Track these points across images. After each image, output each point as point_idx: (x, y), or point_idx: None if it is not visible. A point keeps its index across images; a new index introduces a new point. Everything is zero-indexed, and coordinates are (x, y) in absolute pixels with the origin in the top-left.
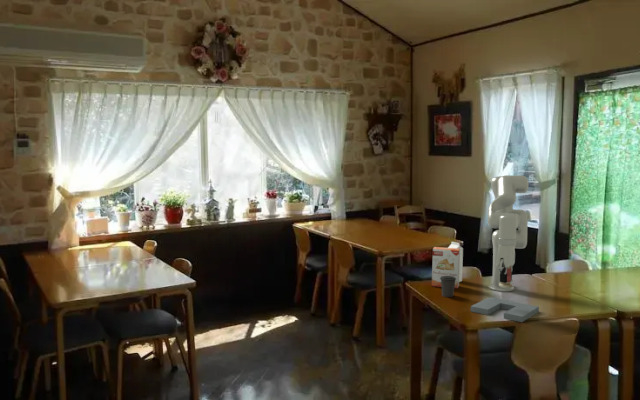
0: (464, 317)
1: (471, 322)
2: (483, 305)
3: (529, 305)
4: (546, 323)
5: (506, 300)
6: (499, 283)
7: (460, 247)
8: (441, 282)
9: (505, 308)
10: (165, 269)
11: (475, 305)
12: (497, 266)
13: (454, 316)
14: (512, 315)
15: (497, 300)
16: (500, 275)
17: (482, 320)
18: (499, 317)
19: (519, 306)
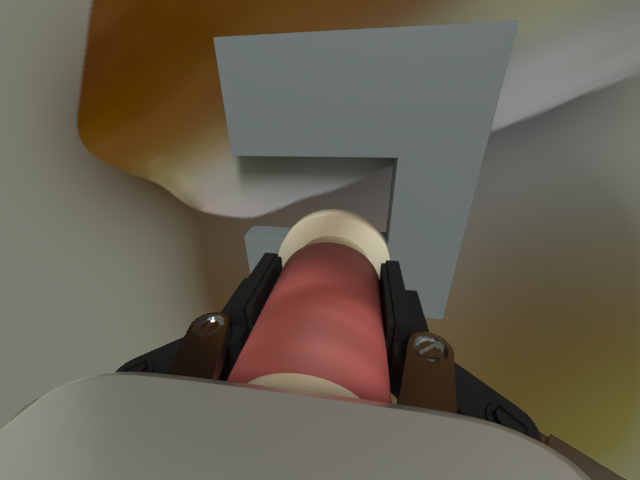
0: (127, 77)
1: (107, 143)
2: (282, 98)
3: (436, 286)
4: None
5: (478, 164)
6: (309, 224)
7: None
8: None
9: (391, 183)
10: None
11: (247, 55)
12: (96, 377)
13: (93, 20)
14: (250, 268)
15: (448, 117)
16: (240, 295)
17: (165, 168)
18: (253, 207)
19: (390, 257)
